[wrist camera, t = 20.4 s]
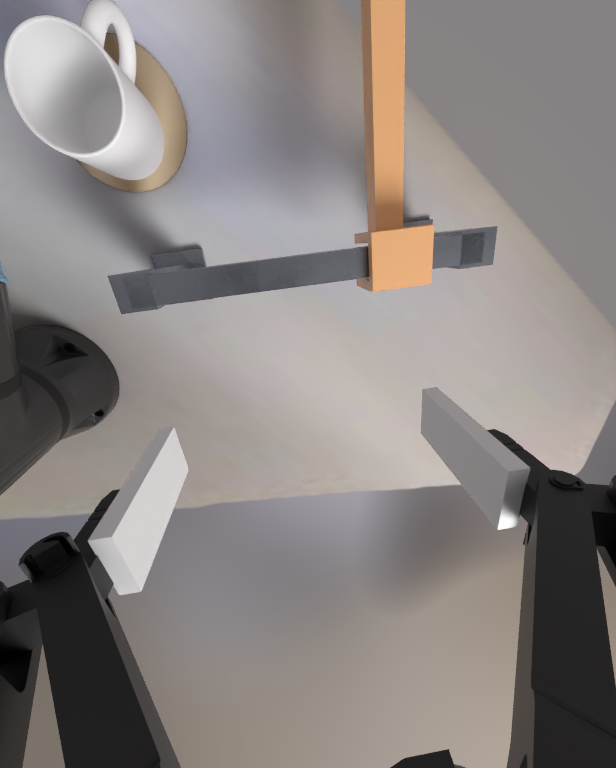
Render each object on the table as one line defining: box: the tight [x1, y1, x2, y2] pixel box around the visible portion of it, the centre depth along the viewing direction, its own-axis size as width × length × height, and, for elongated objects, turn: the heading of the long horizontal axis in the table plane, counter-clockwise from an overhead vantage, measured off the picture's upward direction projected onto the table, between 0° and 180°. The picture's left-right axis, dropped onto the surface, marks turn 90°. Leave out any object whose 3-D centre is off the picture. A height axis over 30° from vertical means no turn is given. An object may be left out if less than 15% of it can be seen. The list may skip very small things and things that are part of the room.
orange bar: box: [355, 0, 434, 292], centre depth 24 cm, size 5×23×6 cm, turn 6°
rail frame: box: [108, 219, 497, 314], centre depth 33 cm, size 35×6×16 cm, turn 96°
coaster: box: [76, 33, 187, 192], centre depth 32 cm, size 13×13×1 cm
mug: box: [4, 0, 165, 180], centre depth 27 cm, size 12×8×10 cm
